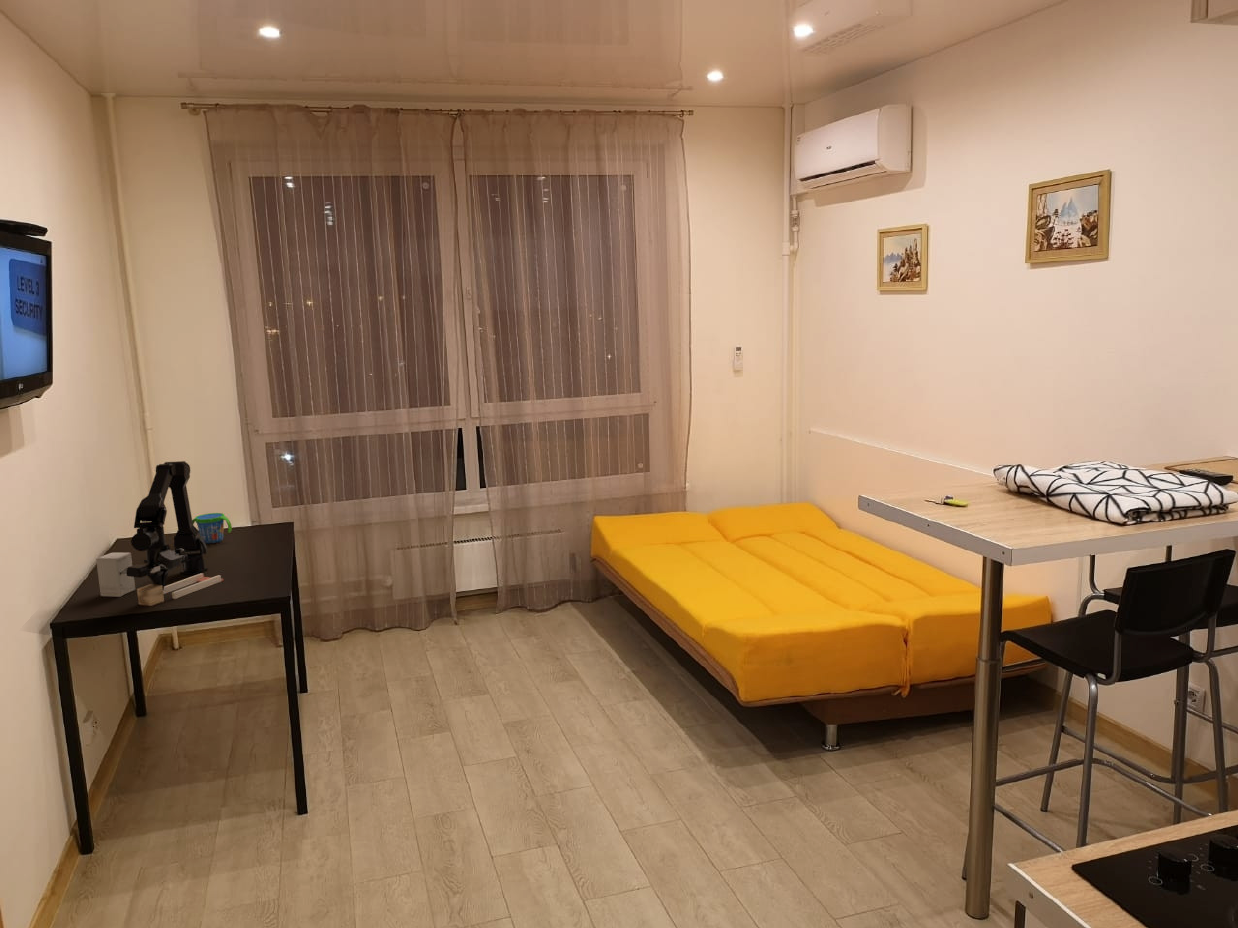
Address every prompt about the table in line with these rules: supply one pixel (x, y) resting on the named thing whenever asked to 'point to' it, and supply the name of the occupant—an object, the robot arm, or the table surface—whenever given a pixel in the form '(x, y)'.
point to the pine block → (150, 594)
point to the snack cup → (212, 526)
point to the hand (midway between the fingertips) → (161, 590)
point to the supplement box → (115, 574)
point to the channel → (197, 578)
